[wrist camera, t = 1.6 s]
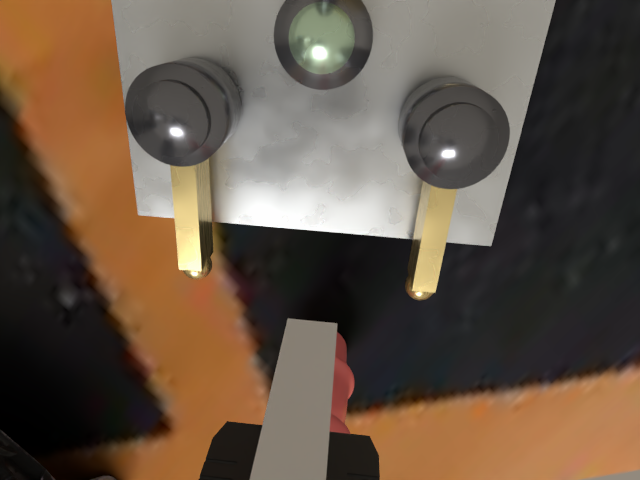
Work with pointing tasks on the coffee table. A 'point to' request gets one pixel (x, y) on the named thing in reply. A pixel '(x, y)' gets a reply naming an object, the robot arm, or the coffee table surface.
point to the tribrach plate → (334, 102)
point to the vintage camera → (23, 463)
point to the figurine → (340, 388)
